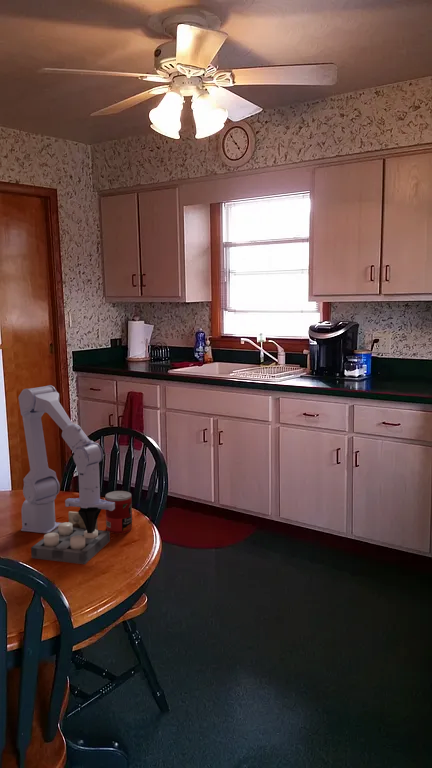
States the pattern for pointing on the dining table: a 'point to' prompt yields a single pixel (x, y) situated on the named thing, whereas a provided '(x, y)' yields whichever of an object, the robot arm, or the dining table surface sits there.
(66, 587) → the dining table surface
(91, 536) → the button far right
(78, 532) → the button board
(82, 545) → the button near right
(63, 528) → the button far left
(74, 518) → the pattern plaque
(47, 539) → the button near left
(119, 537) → the dining table surface
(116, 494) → the canned food
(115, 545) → the dining table surface
